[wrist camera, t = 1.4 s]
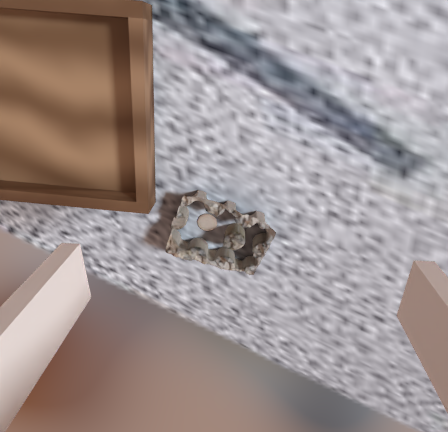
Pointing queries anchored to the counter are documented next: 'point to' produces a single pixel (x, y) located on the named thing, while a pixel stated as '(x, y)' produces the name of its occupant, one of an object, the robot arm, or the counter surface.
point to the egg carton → (232, 237)
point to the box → (77, 104)
